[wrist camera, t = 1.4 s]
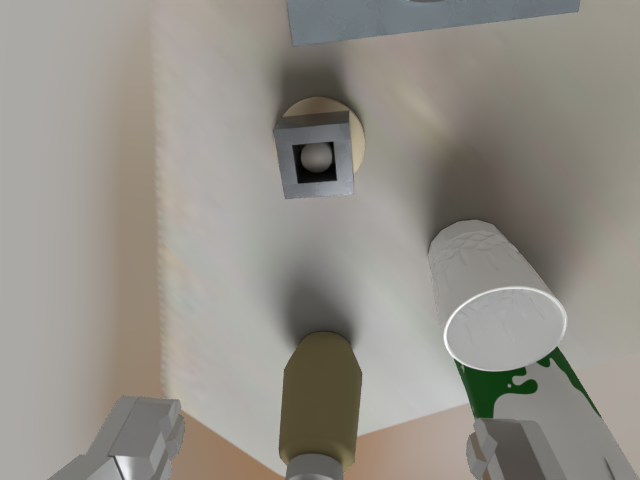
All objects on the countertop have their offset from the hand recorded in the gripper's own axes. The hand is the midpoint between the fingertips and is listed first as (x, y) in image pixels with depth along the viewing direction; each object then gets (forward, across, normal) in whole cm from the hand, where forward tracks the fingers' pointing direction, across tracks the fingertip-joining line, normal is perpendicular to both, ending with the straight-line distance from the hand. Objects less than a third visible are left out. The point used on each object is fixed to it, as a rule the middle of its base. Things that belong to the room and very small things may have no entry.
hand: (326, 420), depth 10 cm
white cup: (+23, -12, +8) cm, 27 cm away
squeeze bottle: (+24, 0, +22) cm, 32 cm away
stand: (+23, +1, -1) cm, 23 cm away
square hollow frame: (+22, +1, -1) cm, 22 cm away
